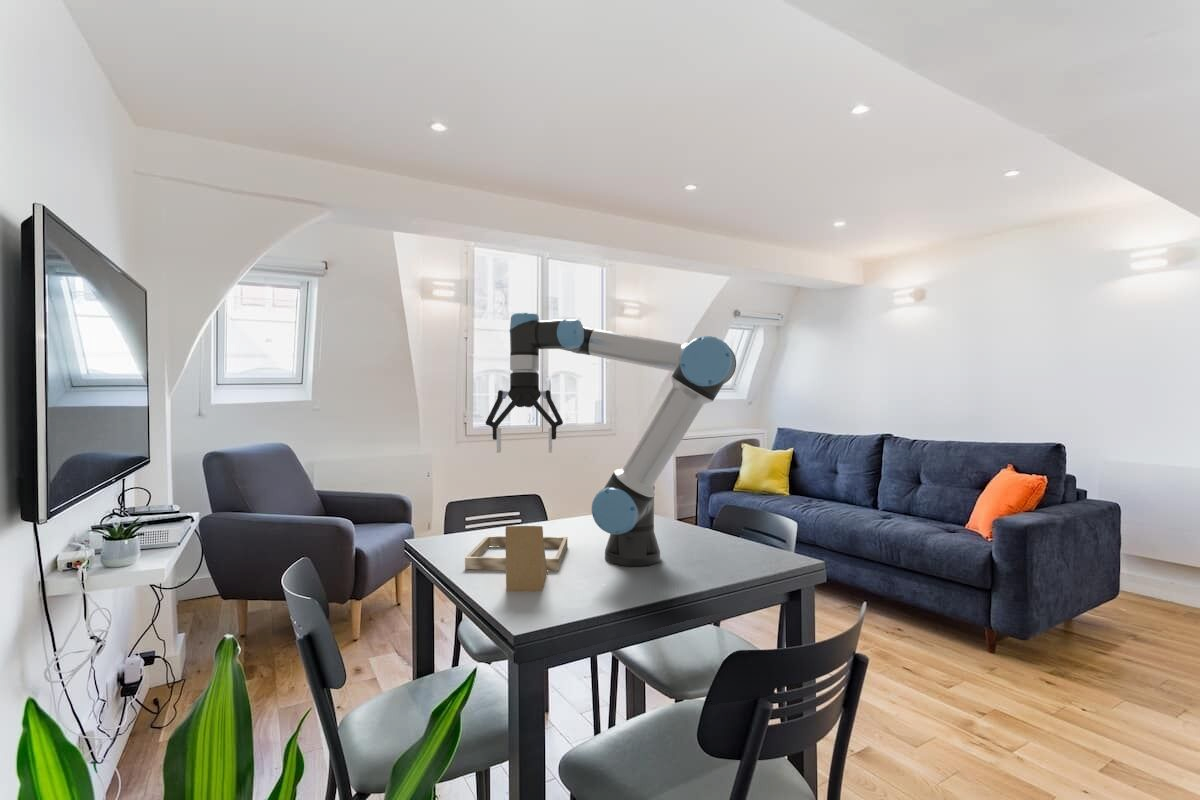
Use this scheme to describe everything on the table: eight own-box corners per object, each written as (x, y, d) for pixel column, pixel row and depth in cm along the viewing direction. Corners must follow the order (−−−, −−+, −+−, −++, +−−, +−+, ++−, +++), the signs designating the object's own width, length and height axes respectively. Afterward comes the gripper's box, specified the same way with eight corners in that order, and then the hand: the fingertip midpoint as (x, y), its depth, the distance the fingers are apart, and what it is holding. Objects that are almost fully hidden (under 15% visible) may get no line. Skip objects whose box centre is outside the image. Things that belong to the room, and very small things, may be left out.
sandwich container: (548, 572, 150) (548, 513, 150) (542, 592, 135) (543, 526, 135) (514, 572, 150) (514, 512, 150) (505, 591, 135) (505, 526, 135)
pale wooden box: (567, 547, 174) (567, 537, 174) (558, 570, 150) (558, 559, 150) (486, 546, 175) (486, 536, 175) (465, 569, 151) (465, 557, 151)
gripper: (571, 372, 161) (572, 450, 161) (479, 372, 160) (479, 451, 160) (571, 371, 153) (571, 453, 153) (474, 371, 153) (474, 453, 153)
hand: (524, 452), depth 157 cm, fingers open, 13 cm apart
